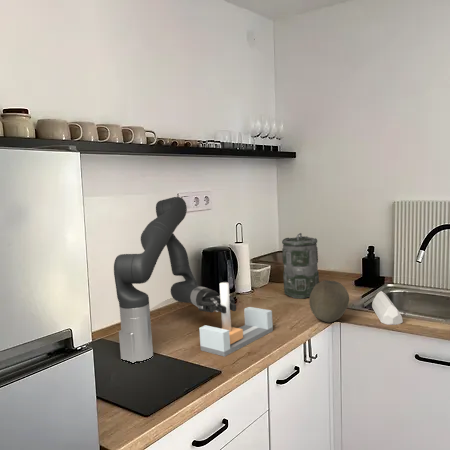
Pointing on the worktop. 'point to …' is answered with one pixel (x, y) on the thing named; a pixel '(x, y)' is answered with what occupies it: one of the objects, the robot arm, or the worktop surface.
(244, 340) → the rail track
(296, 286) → the canister
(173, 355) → the worktop surface
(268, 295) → the worktop surface
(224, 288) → the carriage
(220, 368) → the worktop surface
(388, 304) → the crystal
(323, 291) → the cantaloupe
